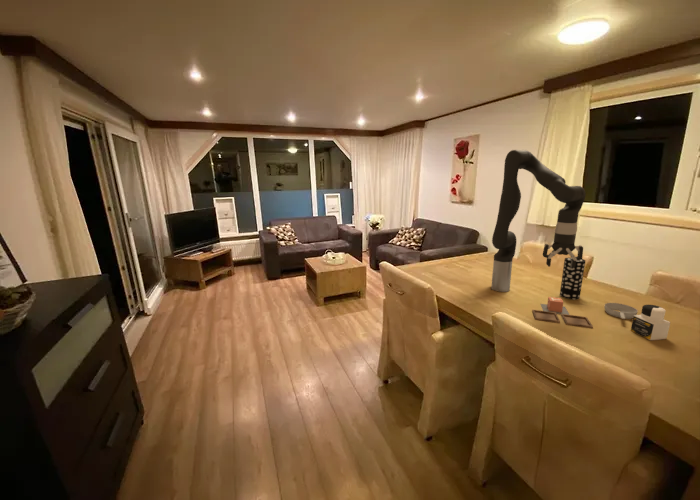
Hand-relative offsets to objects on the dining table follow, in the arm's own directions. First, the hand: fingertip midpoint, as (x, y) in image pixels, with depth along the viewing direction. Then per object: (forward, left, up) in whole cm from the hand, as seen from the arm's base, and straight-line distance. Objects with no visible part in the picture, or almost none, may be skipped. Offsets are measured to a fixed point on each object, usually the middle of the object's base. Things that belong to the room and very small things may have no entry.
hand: (560, 267), depth 128 cm
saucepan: (+24, +1, -22) cm, 32 cm away
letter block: (0, 0, -21) cm, 21 cm away
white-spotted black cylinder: (+10, +21, -22) cm, 32 cm away
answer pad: (0, 0, -21) cm, 21 cm away
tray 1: (-5, -10, -21) cm, 24 cm away
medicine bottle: (+28, -13, -22) cm, 38 cm away
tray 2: (+6, -10, -21) cm, 24 cm away
